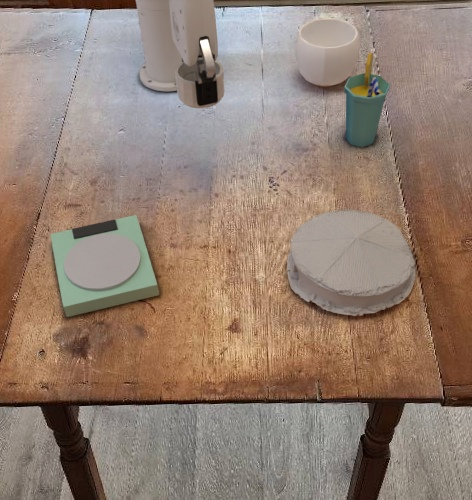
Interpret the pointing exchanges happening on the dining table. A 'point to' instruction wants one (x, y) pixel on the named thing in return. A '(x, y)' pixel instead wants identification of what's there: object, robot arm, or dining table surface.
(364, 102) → the cup
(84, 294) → the scale
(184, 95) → the bowl
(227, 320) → the dining table surface
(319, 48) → the cup
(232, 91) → the dining table surface
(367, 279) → the grey round cake
